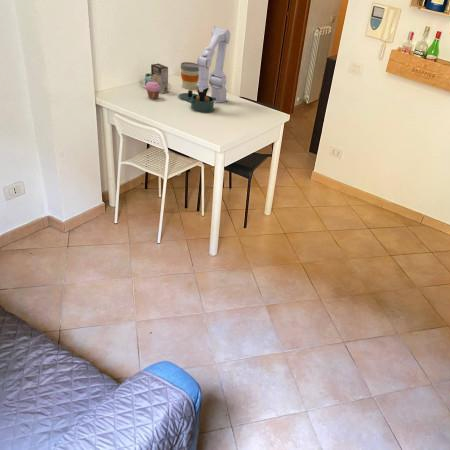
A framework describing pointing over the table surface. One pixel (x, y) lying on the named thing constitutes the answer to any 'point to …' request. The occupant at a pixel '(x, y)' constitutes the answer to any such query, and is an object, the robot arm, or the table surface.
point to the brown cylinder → (204, 99)
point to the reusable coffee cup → (189, 75)
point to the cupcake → (153, 89)
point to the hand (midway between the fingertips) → (202, 100)
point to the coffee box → (160, 76)
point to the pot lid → (186, 95)
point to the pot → (202, 104)
